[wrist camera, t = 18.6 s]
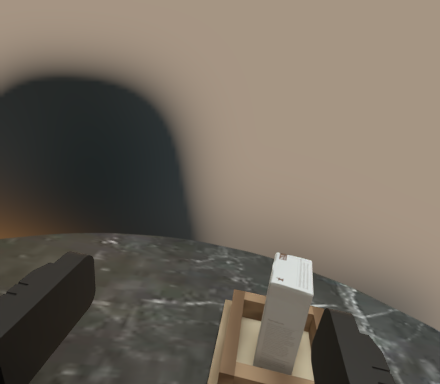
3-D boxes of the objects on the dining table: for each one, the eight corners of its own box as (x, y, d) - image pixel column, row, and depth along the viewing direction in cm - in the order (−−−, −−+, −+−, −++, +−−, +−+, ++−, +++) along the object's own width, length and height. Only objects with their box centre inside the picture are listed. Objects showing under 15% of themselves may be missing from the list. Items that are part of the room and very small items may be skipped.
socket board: (202, 407, 28) (206, 379, 26) (224, 306, 40) (228, 283, 39) (347, 447, 26) (361, 419, 24) (322, 328, 39) (329, 304, 37)
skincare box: (289, 386, 29) (318, 297, 25) (248, 371, 30) (269, 283, 26) (292, 340, 35) (316, 260, 30) (257, 328, 36) (275, 249, 31)
